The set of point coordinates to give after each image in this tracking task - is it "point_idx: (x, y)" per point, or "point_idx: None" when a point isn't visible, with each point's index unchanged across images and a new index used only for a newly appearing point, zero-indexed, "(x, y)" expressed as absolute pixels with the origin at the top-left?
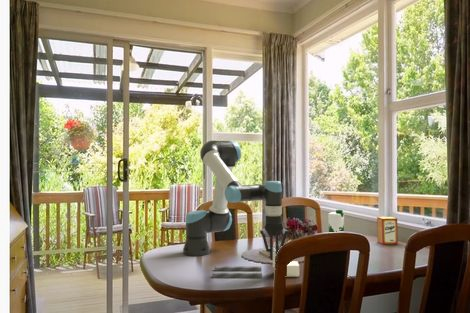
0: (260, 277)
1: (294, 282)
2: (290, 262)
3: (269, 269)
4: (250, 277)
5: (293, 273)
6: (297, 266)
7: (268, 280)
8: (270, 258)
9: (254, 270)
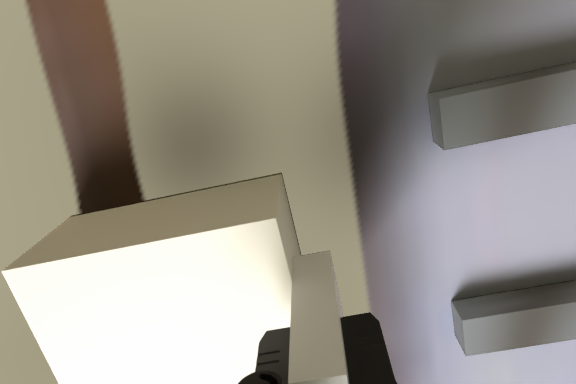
0: (444, 91)
1: (62, 15)
2: (137, 368)
3: None
4: (558, 66)
5: (110, 218)
6: (28, 262)
7: (346, 16)
8: (376, 326)
9: (523, 291)
